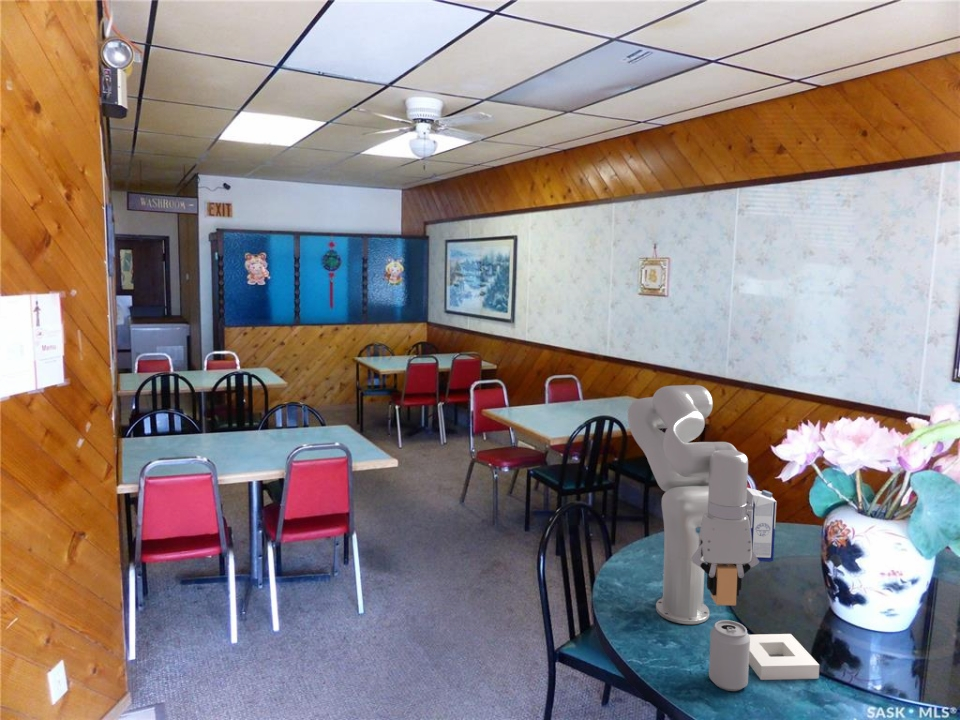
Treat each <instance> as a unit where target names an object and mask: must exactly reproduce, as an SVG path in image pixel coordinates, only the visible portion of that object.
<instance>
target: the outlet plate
mask: <svg viewBox="0 0 960 720" xmlns="http://www.w3.org/2000/svg"><path fill="white" fill-rule="evenodd" d="M749 636H750V650H749V666H750V668H752V670H753V671H754V673H755V674H756V675H757V677H758V678H759V680H761V681H763V680H764V681H770V680H774V681H775V680H778V681H779V680H818V679H819V677H820V664H819V663H818V662H817V661H816V659H815V658H814V657H813V656H812V655H811V654H810V653H809V652H808V651H807V650H806V648H804V647H803V645H802V644H801V643H800V641H798V640H797V639H796V638H795V637H794V636H793V635H792V633H768V634H762V633H761V634H760V633H759V634H749Z"/></svg>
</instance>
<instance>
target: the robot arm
mask: <svg viewBox="0 0 960 720" xmlns="http://www.w3.org/2000/svg"><path fill="white" fill-rule="evenodd" d="M713 403H714V402H713V397H712V395H711V393H710V391H709V390H708V389H707V388H706V387H704V386H702V385H699V384H684V385H683V384H682V385H666V386H663V387H660V388H659V389H657V390H656V391H655V393H654V394H653V396H650V397H649V396H648V397H642V398H641V397H640V398H638V399H635V400H633V401H632V402H631V403H630V405H629V406H628V408H627V423H628V427H629V430H630V432H631V436H632V437H633V439H634V441H635V442H636V444H637V445H638V447H639V448H640V449H641V450H642V451H643V453H644V455H645V457H646V458H647V462H648V464H649V466H650V470H651V472H652V474H653V477H654V478H655V481H656V483H657V485H658V486H659V488H660V489H661V490H662V491H663V492H664V494H663V495H662V497H661V511H662V520H663V527H664V528H663V531H664V532H663V533H664V534H663V535H664V539H663V542H664V544H663V545H664V546H663V551H664V552H663V577H662V578H663V580H662V581H663V582H662V597H661V598H659V599H658V600H657V601H656V603H655V611H656V612H657V613H658V615H659V616H661V618H663V619H666V620H667V621H670V622H671V623H675V624H682V625H698V624H701V623H704V622H706V621H707V620H708V619H709V618H710V608H709V607H708V606H707V605H706V604H705V603H704V588H705V573H706V575H707V577H706V588H707V590H708V591H709V592H710V594H711V593H712V595H713V596H716V584H717V578H716V577H715V572H716V568H717V564H734V565H735V566H736V568H737V593H736V597H739V595H740V591H742V578H744V576H745V574H746V573H747V572H749V571H750V570H751V568H753V567H755V566H757V565H758V564H760V561H759V560H758V559H757V557H756V555H755V554H754V552H753V551H752V537H751V528H750V522H749V517H748V516H747V512H748V511H753V505H752V504H747V503H746V502H747V488H748V476H749V475H748V474H749V472H748V471H749V460H748V457H747V455H746V454H745V453H744V452H741V451H739V450H737V448H736V447H735V446H734V445H733V444H732V443H730V442H727V441H698V442H697V441H696V442H692V441H693V440H696V438H698V437H699V436H700V435H701V434H702V433H703V431H704V428H705V424H706V423H705V419H707V418H708V417H709V416H710V415H711V413H712V410H713V406H714V404H713ZM661 429H666V430H665V432H664V431H662V430H661ZM697 528H700V529H699V533H698V532H697Z"/></svg>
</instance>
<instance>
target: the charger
mask: <svg viewBox="0 0 960 720" xmlns="http://www.w3.org/2000/svg"><path fill="white" fill-rule="evenodd" d="M715 577H716V578H717V584H716V596H713V595H712V593H711V592H710V597H711V598H712V601H713V602H714V603H715V605H716V606H737V596H736V593H737V568H736V566H735V565H734V564H717V568H716V572H715Z"/></svg>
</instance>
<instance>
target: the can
mask: <svg viewBox="0 0 960 720" xmlns="http://www.w3.org/2000/svg"><path fill="white" fill-rule="evenodd" d="M749 635H750V634H749V633H748V630H747V628H746V626H744V625H743V624H742V623H740V622H737V621H735V620H734V621H733V620H729V619H721V620H718V621H716V622H715V623H714V625H713V627H712V628H711V629H710V637H709V638H710V639H709V642H710V643H709V664H708V666H709V667H708V676H709V679H710V680H711V681H712V682H713V684H715V686H717V687H719V688H720V689H722V690H725V691H730V692H738V691H741V690H742V689H743V688H746V687H747V686H748V683H749V668H750V667H749V666H750V664H749V650H750V636H749Z"/></svg>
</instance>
